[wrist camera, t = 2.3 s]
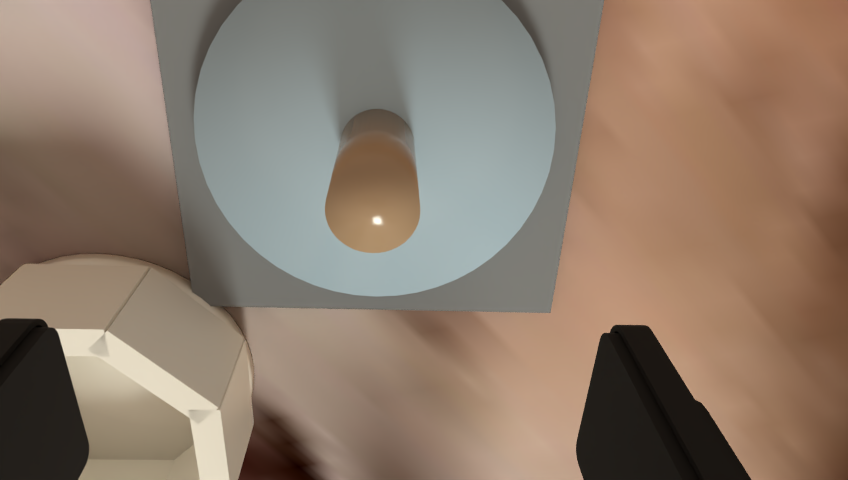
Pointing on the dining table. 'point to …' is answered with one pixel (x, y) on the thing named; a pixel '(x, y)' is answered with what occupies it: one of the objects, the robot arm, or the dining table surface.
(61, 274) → the bowl
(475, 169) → the lid
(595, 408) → the robot arm
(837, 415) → the dining table surface
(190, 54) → the mat
